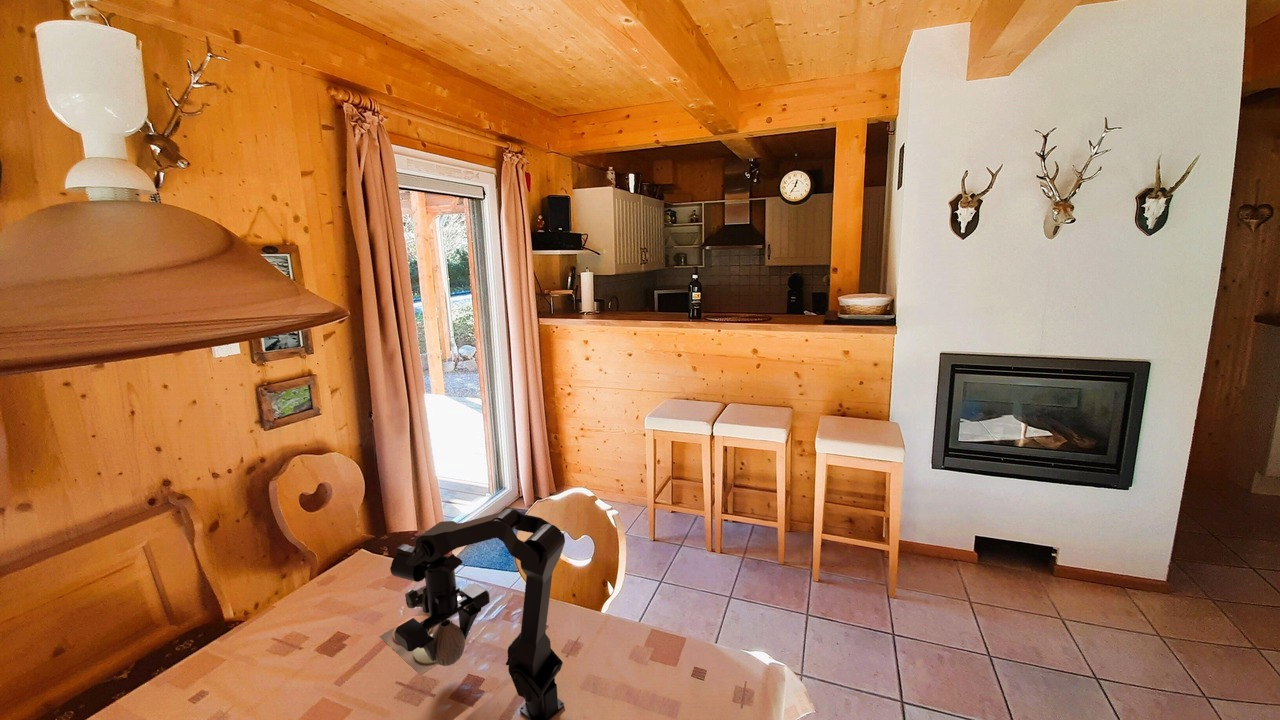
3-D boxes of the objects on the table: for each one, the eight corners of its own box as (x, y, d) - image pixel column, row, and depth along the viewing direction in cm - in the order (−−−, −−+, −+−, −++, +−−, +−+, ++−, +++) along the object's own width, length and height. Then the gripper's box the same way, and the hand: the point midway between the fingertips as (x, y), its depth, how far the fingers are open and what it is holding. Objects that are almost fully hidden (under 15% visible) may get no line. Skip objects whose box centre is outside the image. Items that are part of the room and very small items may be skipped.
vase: (424, 667, 108) (420, 631, 107) (445, 644, 115) (442, 609, 113) (453, 674, 106) (448, 637, 105) (472, 650, 113) (469, 614, 111)
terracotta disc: (440, 627, 126) (440, 625, 126) (404, 650, 119) (404, 647, 119) (421, 612, 131) (421, 610, 131) (385, 632, 125) (385, 630, 124)
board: (469, 646, 121) (469, 642, 121) (421, 679, 112) (420, 675, 112) (426, 612, 133) (426, 609, 133) (379, 639, 124) (379, 636, 124)
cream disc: (463, 645, 120) (463, 643, 120) (426, 670, 113) (426, 667, 113) (442, 629, 126) (441, 626, 125) (405, 651, 119) (405, 649, 119)
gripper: (459, 550, 119) (465, 610, 122) (376, 592, 105) (386, 658, 108) (488, 567, 112) (494, 630, 115) (404, 615, 98) (413, 685, 101)
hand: (448, 649), depth 110 cm, fingers closed on vase, 7 cm apart
